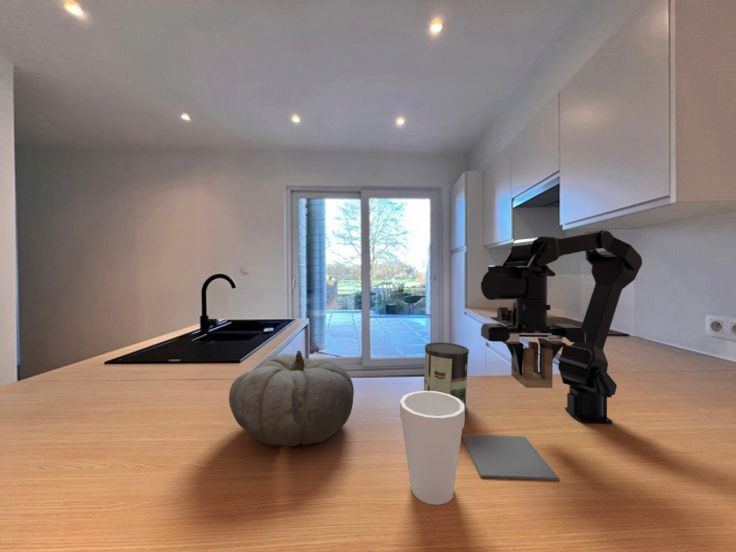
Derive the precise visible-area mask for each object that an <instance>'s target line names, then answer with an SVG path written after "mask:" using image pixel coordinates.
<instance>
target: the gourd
mask: <svg viewBox="0 0 736 552" xmlns="http://www.w3.org/2000/svg"><path fill="white" fill-rule="evenodd" d="M351 378H352V377H350V374H348V372H346V371H345V369H344V368H342V366H340V365H339V364H336V363H334V362H333V361H330V360H326V359H315V360H313V359H310V358H307V357H305V356H303V353H302V352H301V350H297V351H296V354H293V353H285V354H279V355H277V356H274V357H272V358H271V359H269V361H266V362H264V363H263V364H261V365H260V366H258V367H257V368H254V369H252V370H248V371H246V372H244V373H241V375H239V376H238V377H237V378H235V379H234V381H233V382H232V384H231V386H230V389H229V394H228V402H229V407H230V410H231V413H232V415H233V417H234V419H235V421H236V423H237V424H238V425H239V426H240V427H241V428H242V429H243V430H245V432H247V433H248V434H249V435H250V436H251V437H252V438H253V439H256V440H257V441H259V442H260V443H263V444H265V445H267V446H276V445H277V446H285V447H294V446H298V445H301V446H302V445H303V446H304V445H305V446H306V445H309V444H310V445H311V444H317V443H318V444H319V443H322V442H324V441H325V440H327V439H328V438H330V437H331V436H332V435H334V434H335V433H337V432H339V431H340V430H341V429H342V428H343V427H344V426H345V424H346V423H347V422H348V420H349V418H350V416H351V413H352V410H353V405H354V404H353V403H354V394H355V393H354V392H355V391H354V390H355V389H354V384H353V380H352V379H351Z"/></svg>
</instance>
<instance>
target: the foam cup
mask: <svg viewBox="0 0 736 552" xmlns="http://www.w3.org/2000/svg"><path fill="white" fill-rule="evenodd" d="M465 411H466V410H465V405H464V404H463V402H462V401H461V400H460V399H458V398H456V397H454V396H452V395H450V394H446V393H441V392H437V391H424V390H419V391H413V392H409V393H407V394H405V395H403V396H402V397H401V399H400V401H399V418H400V419H401V424H402V431H403V438H404V439H403V440H404V445H405V446H404V447H405V455H406V461H407V468H408V469H407V470H408V475H409V476H408V477H409V484H410V488H411V492H412V494H413V495H414V497H416V499H418V500H419V501H421V502H423V503H426V504H428V505H437V506H439V505H444V504H447V503H449V502H450V501H451V500H452V499H453V498H454V491H455V485H456V477H457V470H458V464H459V463H458V462H459V455H460V448H461V442H462V441H461V440H462V439H461V438H462V435H463V434H462V433H463V429H464V428H465V421H466V419H465V418H466V417H465V414H466V413H465Z"/></svg>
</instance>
